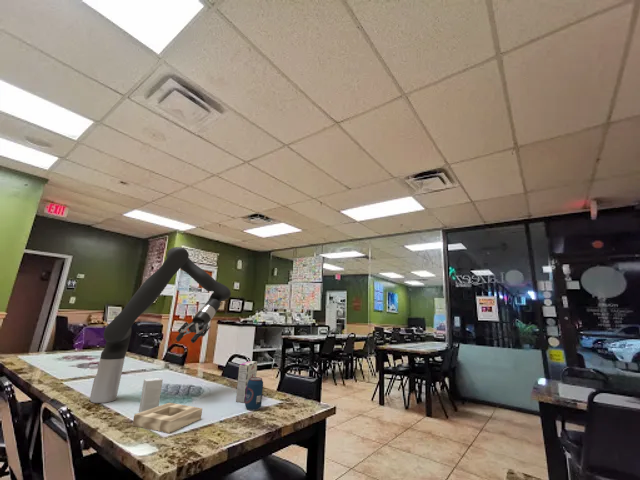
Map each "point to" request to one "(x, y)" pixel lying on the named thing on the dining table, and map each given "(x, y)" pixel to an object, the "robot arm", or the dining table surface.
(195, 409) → the socket block
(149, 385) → the skincare box
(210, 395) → the dining table surface
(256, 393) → the soda can
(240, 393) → the candy bar box
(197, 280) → the robot arm
